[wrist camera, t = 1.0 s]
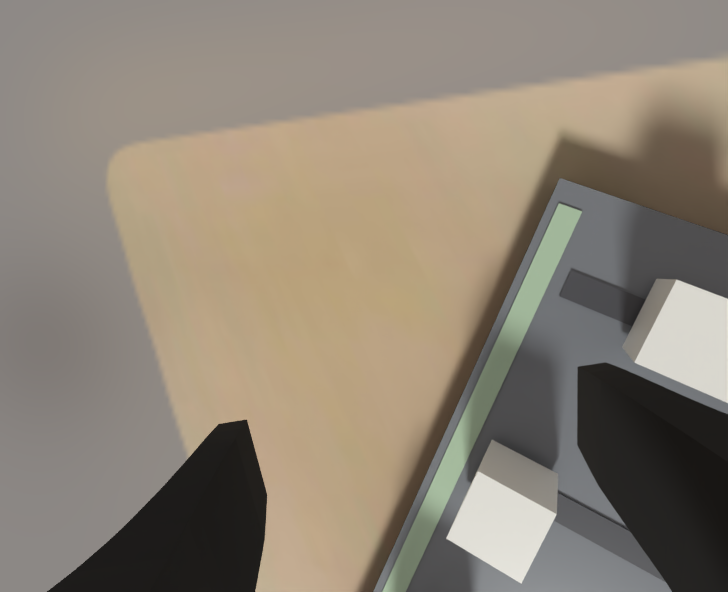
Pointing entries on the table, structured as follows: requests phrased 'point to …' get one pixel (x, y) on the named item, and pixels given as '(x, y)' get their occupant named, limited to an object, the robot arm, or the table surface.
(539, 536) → the switch middle
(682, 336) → the switch
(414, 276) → the table surface
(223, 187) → the table surface
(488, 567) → the panel
